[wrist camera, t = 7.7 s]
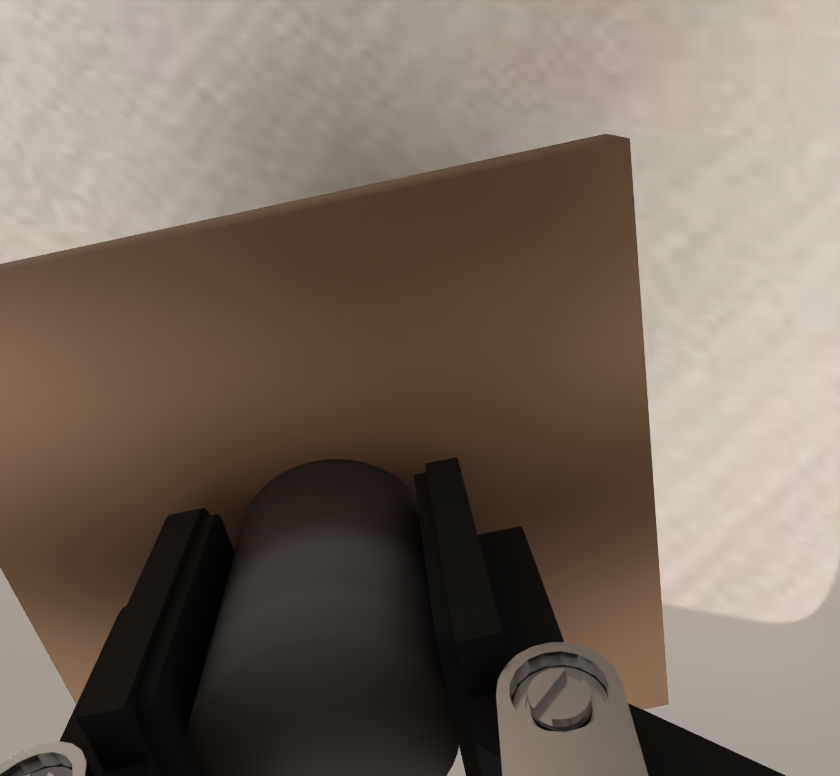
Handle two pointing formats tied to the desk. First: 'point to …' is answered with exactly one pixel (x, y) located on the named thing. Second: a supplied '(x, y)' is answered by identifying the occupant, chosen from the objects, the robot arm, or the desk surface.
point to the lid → (339, 441)
